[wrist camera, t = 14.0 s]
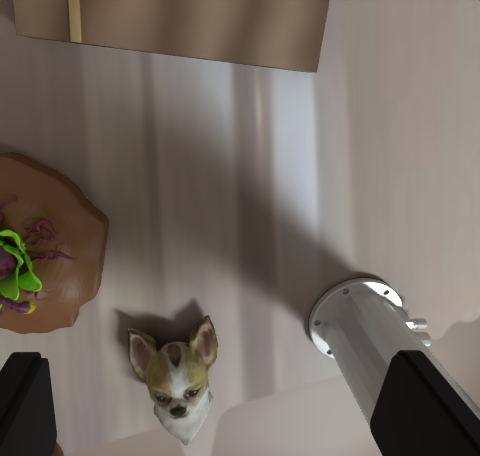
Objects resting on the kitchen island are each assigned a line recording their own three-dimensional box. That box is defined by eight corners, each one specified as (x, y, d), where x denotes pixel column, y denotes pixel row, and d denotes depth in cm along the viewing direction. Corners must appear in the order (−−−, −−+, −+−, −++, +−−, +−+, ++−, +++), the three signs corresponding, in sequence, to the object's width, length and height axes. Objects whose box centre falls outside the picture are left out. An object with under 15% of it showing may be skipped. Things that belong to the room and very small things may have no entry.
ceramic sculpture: (140, 467, 42) (113, 363, 37) (147, 407, 50) (126, 315, 45) (232, 449, 43) (218, 345, 38) (224, 394, 51) (212, 302, 46)
